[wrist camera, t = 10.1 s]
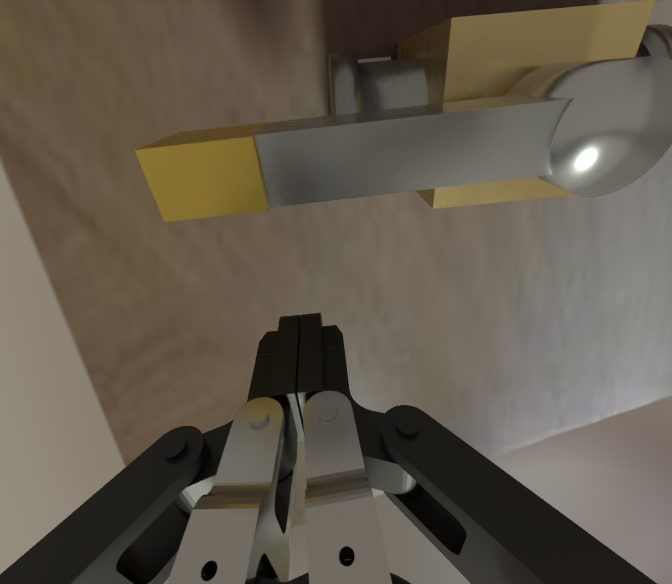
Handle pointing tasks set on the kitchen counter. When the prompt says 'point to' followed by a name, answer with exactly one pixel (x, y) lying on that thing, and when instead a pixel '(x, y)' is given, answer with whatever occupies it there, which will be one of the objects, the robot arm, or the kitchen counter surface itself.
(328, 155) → the lever
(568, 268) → the kitchen counter surface
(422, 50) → the ball valve
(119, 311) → the kitchen counter surface
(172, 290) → the kitchen counter surface
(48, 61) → the kitchen counter surface
